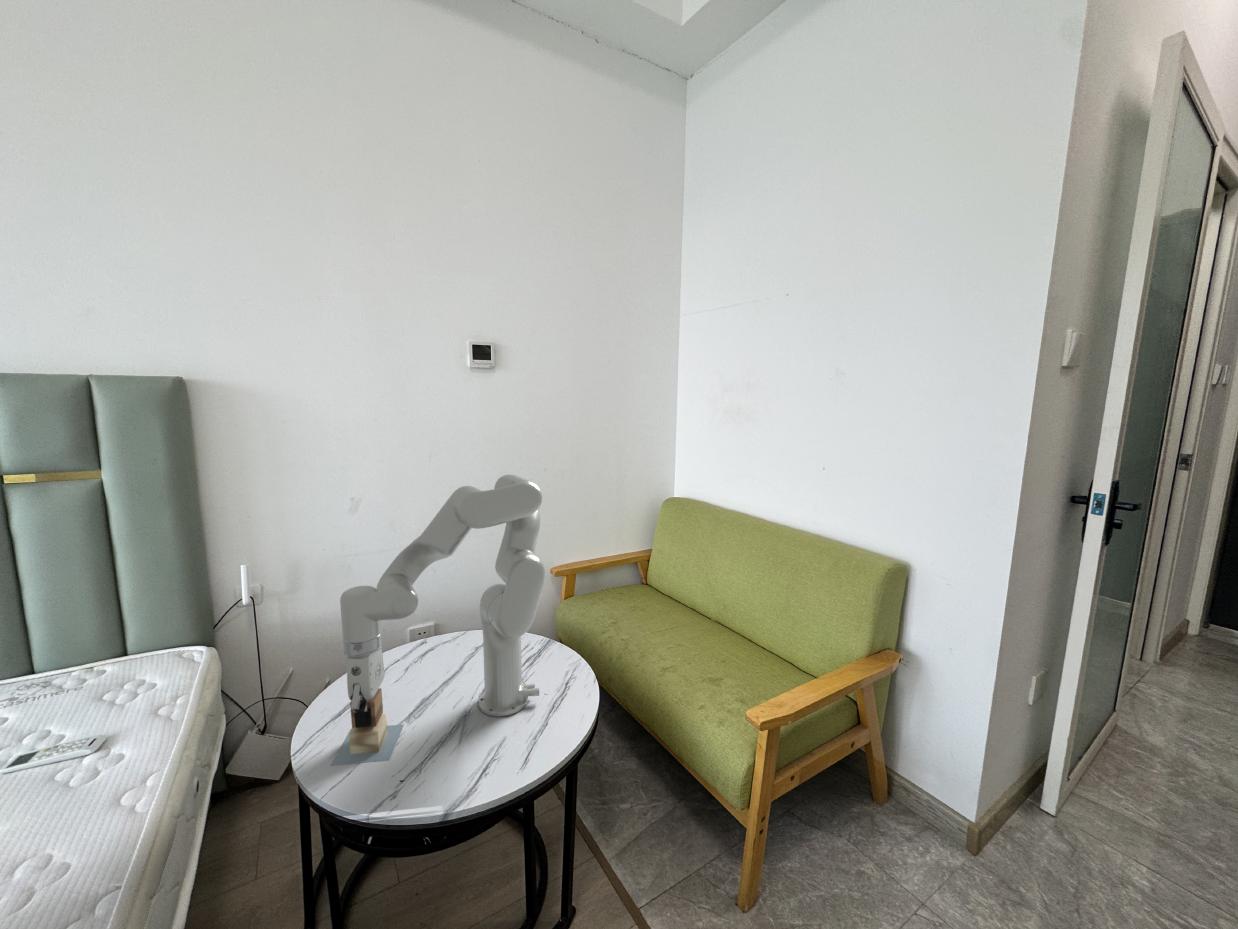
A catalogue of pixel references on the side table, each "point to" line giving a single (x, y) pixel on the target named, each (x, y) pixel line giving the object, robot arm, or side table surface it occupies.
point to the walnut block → (375, 707)
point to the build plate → (382, 755)
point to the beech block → (368, 737)
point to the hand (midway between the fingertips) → (367, 717)
